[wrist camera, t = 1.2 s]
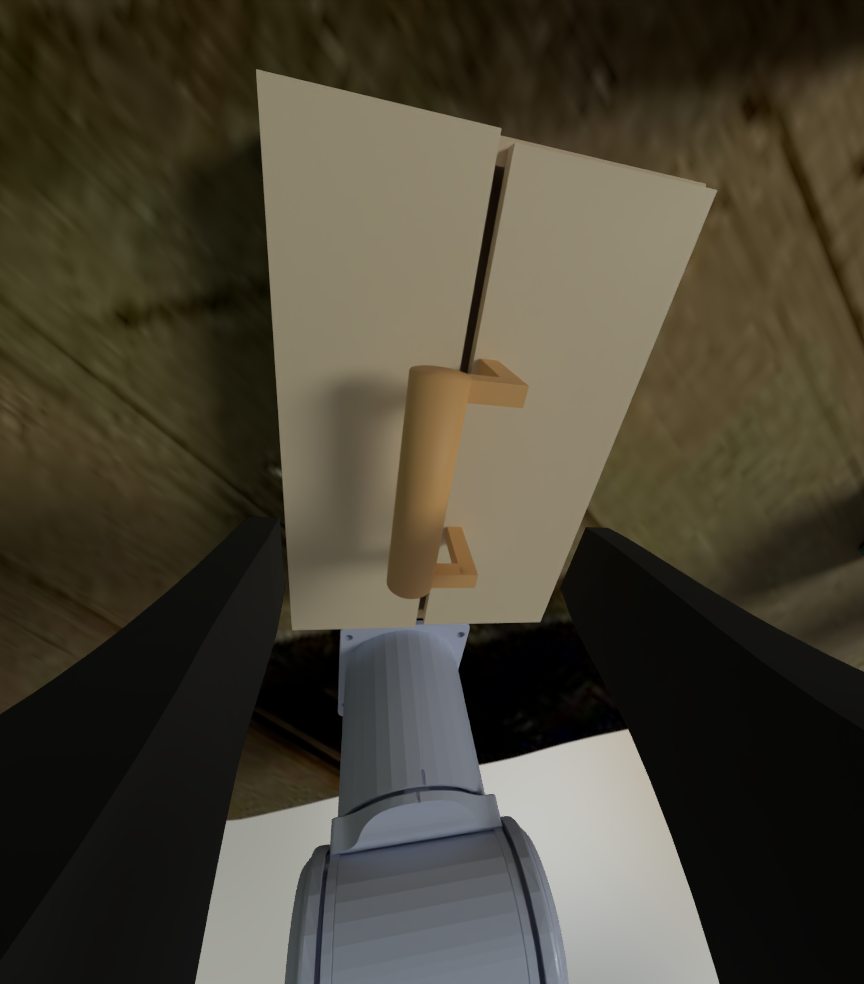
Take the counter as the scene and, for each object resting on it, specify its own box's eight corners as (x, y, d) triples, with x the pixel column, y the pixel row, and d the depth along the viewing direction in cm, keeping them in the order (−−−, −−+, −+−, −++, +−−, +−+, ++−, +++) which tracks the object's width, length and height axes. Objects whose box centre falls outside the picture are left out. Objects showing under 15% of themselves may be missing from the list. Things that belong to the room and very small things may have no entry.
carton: (513, 569, 23) (539, 624, 20) (304, 568, 21) (292, 630, 17) (635, 198, 14) (721, 181, 11) (288, 122, 12) (256, 69, 8)
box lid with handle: (536, 614, 20) (568, 682, 17) (374, 616, 18) (376, 693, 15) (704, 192, 11) (839, 168, 8) (421, 126, 10) (448, 64, 6)
